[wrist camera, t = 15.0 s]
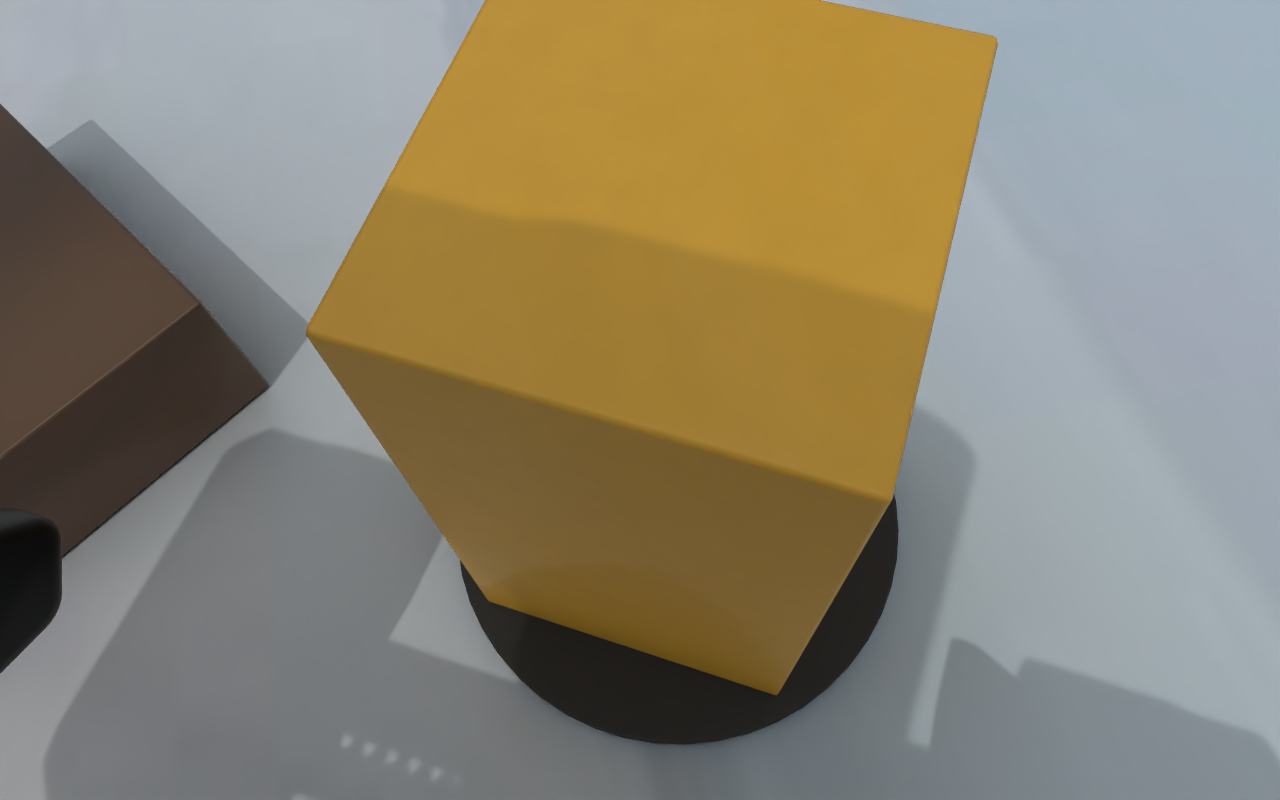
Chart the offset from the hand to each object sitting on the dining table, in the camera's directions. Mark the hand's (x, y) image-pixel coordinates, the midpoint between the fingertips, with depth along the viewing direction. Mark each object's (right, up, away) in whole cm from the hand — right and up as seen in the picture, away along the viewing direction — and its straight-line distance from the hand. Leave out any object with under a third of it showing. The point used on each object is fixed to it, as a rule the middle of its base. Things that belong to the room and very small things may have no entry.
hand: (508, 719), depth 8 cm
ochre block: (+2, +1, +9) cm, 9 cm away
